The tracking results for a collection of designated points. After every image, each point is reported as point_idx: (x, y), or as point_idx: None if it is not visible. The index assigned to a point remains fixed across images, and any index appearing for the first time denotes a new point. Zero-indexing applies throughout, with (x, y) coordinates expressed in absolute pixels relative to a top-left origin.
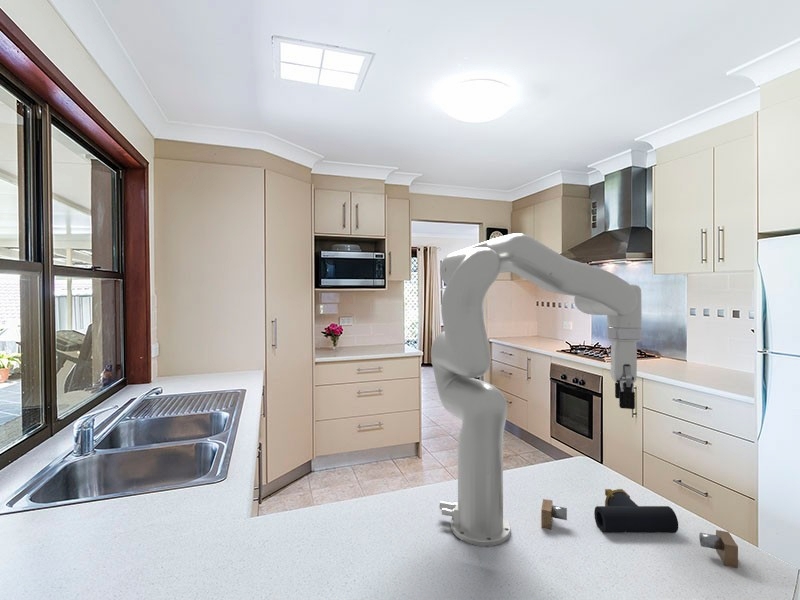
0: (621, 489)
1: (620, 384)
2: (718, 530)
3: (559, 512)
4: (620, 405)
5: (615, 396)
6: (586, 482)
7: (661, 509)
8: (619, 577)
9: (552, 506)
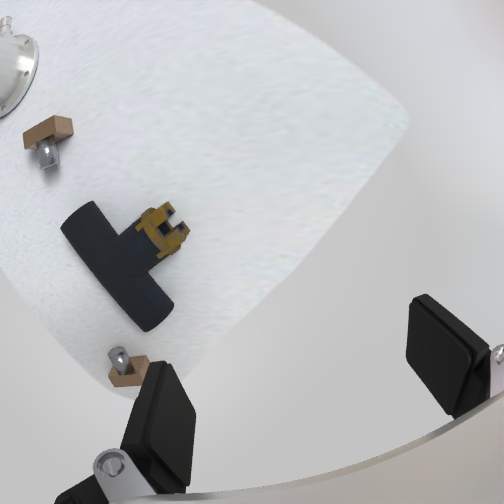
0: (181, 239)
1: (126, 496)
2: (140, 375)
3: (38, 157)
4: (149, 372)
5: (418, 300)
6: (276, 141)
7: (135, 315)
8: (13, 257)
9: (39, 142)
